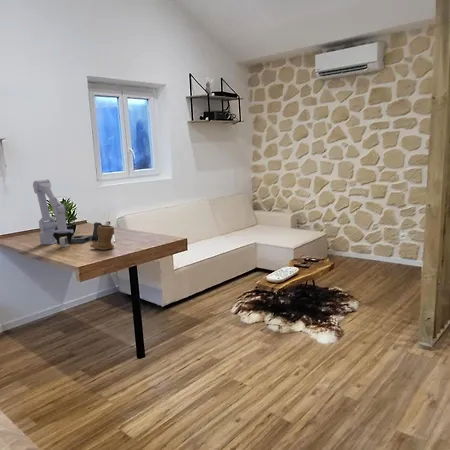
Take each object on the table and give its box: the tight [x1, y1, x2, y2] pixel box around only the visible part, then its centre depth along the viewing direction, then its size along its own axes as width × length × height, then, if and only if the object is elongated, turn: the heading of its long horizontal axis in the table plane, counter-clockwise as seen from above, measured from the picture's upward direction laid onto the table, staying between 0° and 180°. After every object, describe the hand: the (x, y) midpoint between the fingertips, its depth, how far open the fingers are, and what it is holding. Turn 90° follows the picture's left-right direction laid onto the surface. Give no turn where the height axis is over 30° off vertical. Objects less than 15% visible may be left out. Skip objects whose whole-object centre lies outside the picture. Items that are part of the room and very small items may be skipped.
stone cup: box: [89, 224, 115, 251], centre depth 256 cm, size 15×12×15 cm
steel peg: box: [59, 236, 70, 248], centre depth 272 cm, size 4×4×6 cm
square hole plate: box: [64, 234, 93, 244], centre depth 285 cm, size 20×11×3 cm, turn 80°
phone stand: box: [91, 221, 103, 242], centre depth 285 cm, size 9×6×12 cm, turn 134°
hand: (64, 243), depth 272 cm, fingers open, 7 cm apart
